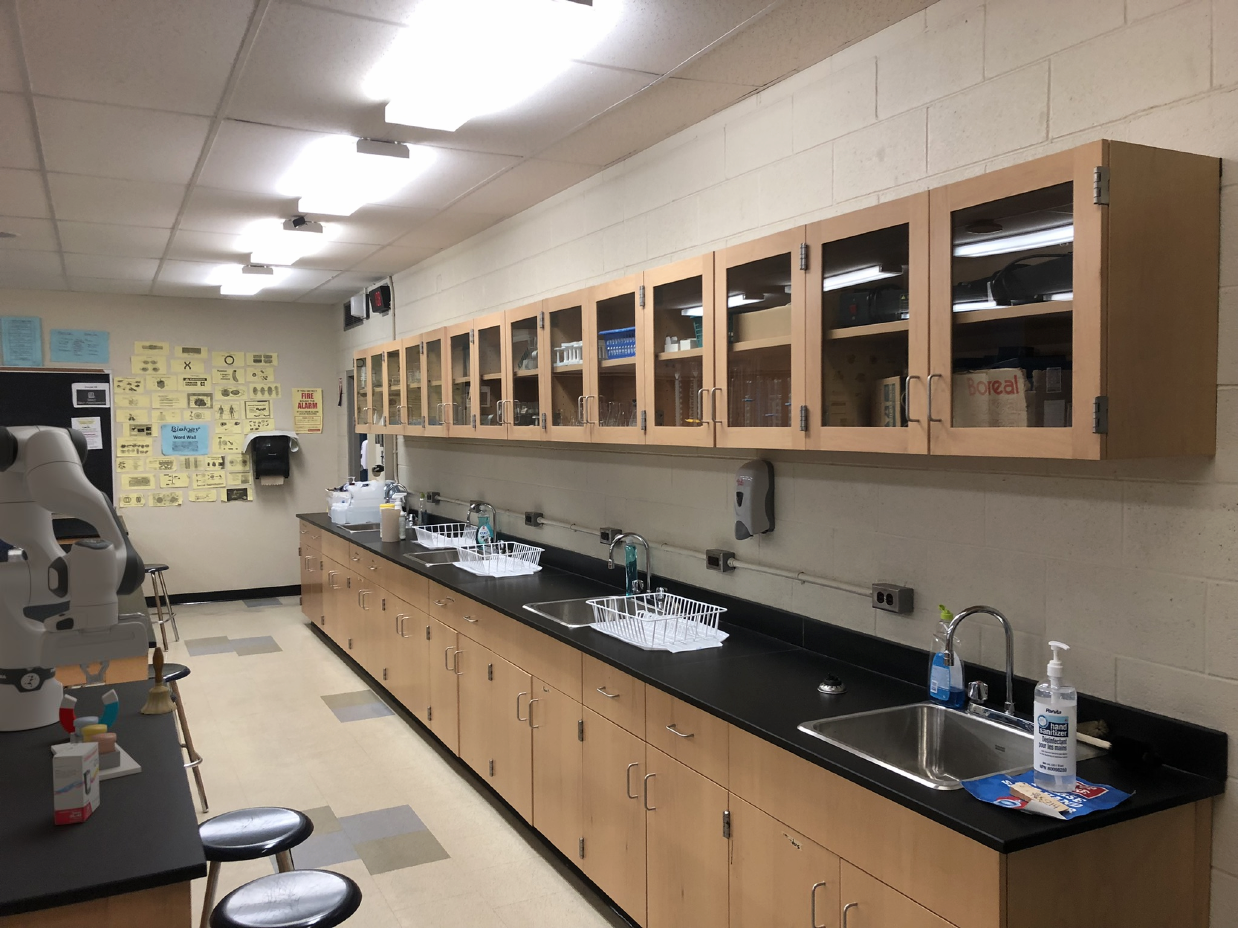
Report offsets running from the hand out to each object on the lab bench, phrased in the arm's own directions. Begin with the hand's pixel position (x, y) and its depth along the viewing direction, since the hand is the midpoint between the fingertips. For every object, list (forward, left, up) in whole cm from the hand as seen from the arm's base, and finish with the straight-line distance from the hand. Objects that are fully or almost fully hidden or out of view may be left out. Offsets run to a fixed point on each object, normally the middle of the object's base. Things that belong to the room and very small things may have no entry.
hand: (94, 683), depth 189 cm
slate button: (-8, 0, -14) cm, 16 cm away
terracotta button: (+8, 0, -14) cm, 16 cm away
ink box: (+31, -9, -17) cm, 36 cm away
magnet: (-20, +3, -17) cm, 26 cm away
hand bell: (-33, +21, -17) cm, 43 cm away
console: (0, 0, -16) cm, 16 cm away
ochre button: (0, 0, -14) cm, 14 cm away
